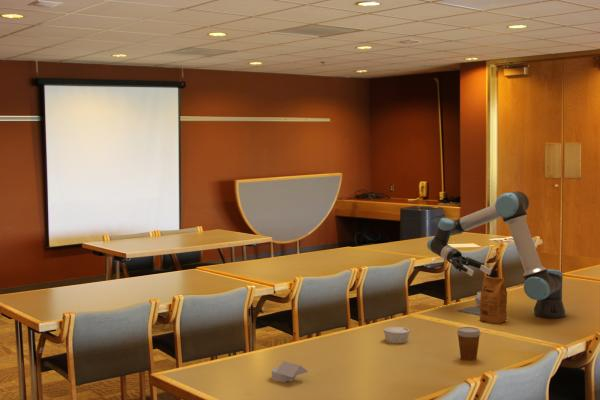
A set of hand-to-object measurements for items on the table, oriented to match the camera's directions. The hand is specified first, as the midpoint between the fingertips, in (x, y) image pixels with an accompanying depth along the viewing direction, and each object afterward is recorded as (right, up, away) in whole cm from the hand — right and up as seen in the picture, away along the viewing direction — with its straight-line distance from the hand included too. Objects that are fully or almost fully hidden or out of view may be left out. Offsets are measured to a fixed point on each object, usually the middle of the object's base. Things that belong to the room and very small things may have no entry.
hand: (481, 273), depth 385 cm
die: (+6, -20, +23) cm, 31 cm away
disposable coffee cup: (-22, -28, -71) cm, 79 cm away
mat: (+1, -21, +11) cm, 23 cm away
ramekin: (-48, -26, -43) cm, 69 cm away
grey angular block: (-95, -31, -95) cm, 138 cm away
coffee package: (+3, -23, -9) cm, 25 cm away
